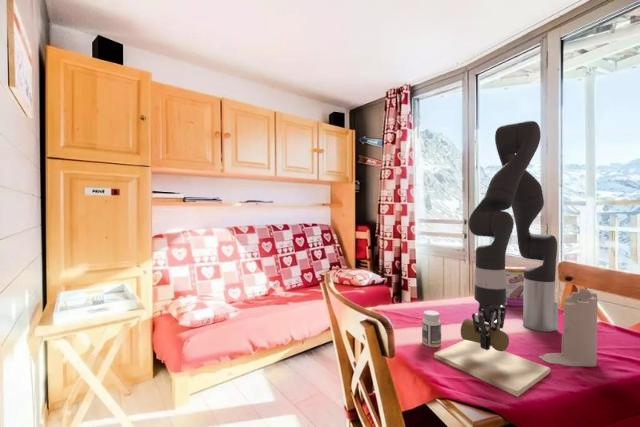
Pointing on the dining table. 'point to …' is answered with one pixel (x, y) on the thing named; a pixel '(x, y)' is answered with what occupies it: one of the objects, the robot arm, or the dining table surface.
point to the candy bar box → (514, 286)
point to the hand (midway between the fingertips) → (489, 346)
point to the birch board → (494, 366)
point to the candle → (578, 331)
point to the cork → (497, 338)
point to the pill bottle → (431, 329)
